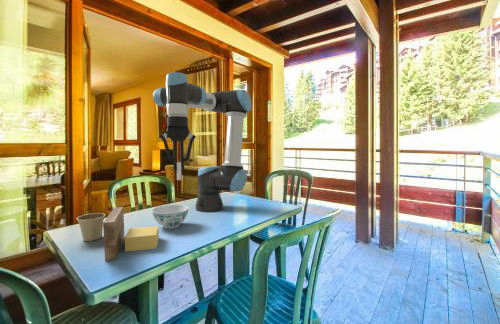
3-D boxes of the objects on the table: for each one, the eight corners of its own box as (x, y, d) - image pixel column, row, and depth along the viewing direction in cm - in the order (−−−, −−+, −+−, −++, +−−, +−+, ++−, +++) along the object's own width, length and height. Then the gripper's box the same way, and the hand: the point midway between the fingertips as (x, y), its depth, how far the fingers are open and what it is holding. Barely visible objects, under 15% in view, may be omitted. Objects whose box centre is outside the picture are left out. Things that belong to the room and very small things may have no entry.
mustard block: (158, 238, 100) (158, 225, 99) (156, 249, 90) (156, 234, 90) (130, 241, 97) (130, 228, 97) (125, 252, 88) (124, 237, 87)
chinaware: (185, 231, 107) (185, 213, 106) (148, 232, 106) (147, 214, 105) (191, 220, 122) (190, 204, 121) (158, 221, 121) (157, 205, 120)
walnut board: (124, 237, 101) (123, 206, 100) (115, 259, 82) (114, 221, 81) (115, 238, 100) (114, 207, 99) (105, 260, 81) (103, 222, 80)
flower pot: (75, 244, 94) (73, 221, 93) (80, 236, 102) (79, 214, 101) (105, 240, 97) (104, 218, 97) (107, 232, 106) (106, 211, 105)
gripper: (194, 117, 102) (195, 177, 104) (159, 116, 98) (161, 179, 100) (196, 116, 95) (197, 180, 97) (158, 115, 91) (160, 181, 93)
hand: (179, 179), depth 99 cm, fingers closed
